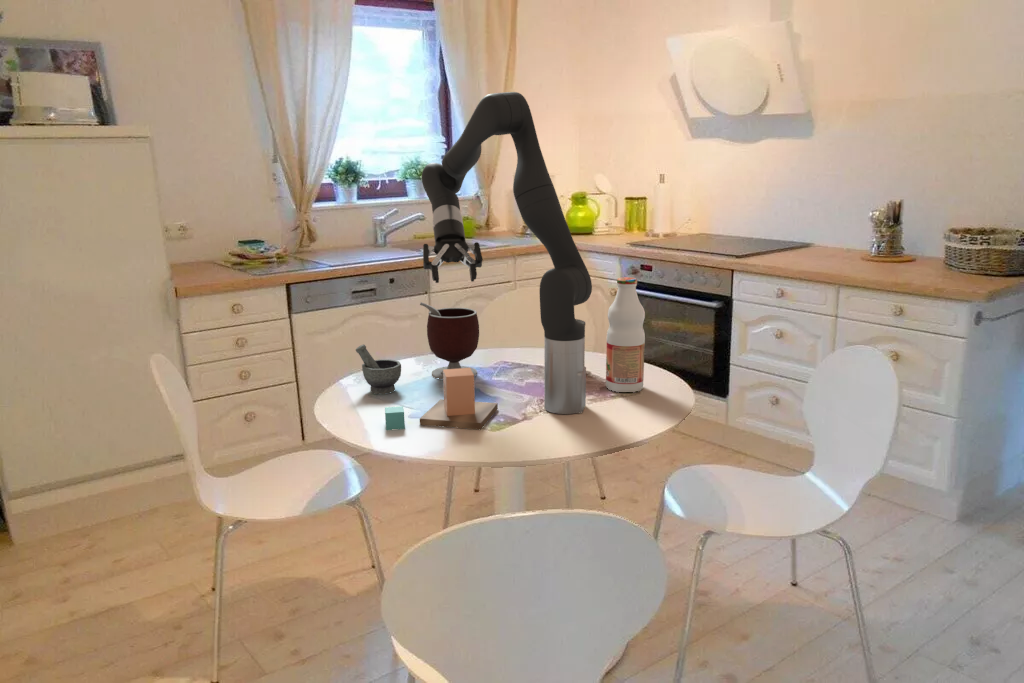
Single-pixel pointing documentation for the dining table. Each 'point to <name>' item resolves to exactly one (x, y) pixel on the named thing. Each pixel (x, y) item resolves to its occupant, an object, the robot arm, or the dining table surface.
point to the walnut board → (459, 416)
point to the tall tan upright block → (459, 391)
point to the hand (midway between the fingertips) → (455, 280)
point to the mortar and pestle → (379, 372)
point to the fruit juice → (625, 339)
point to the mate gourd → (452, 335)
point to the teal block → (394, 418)
